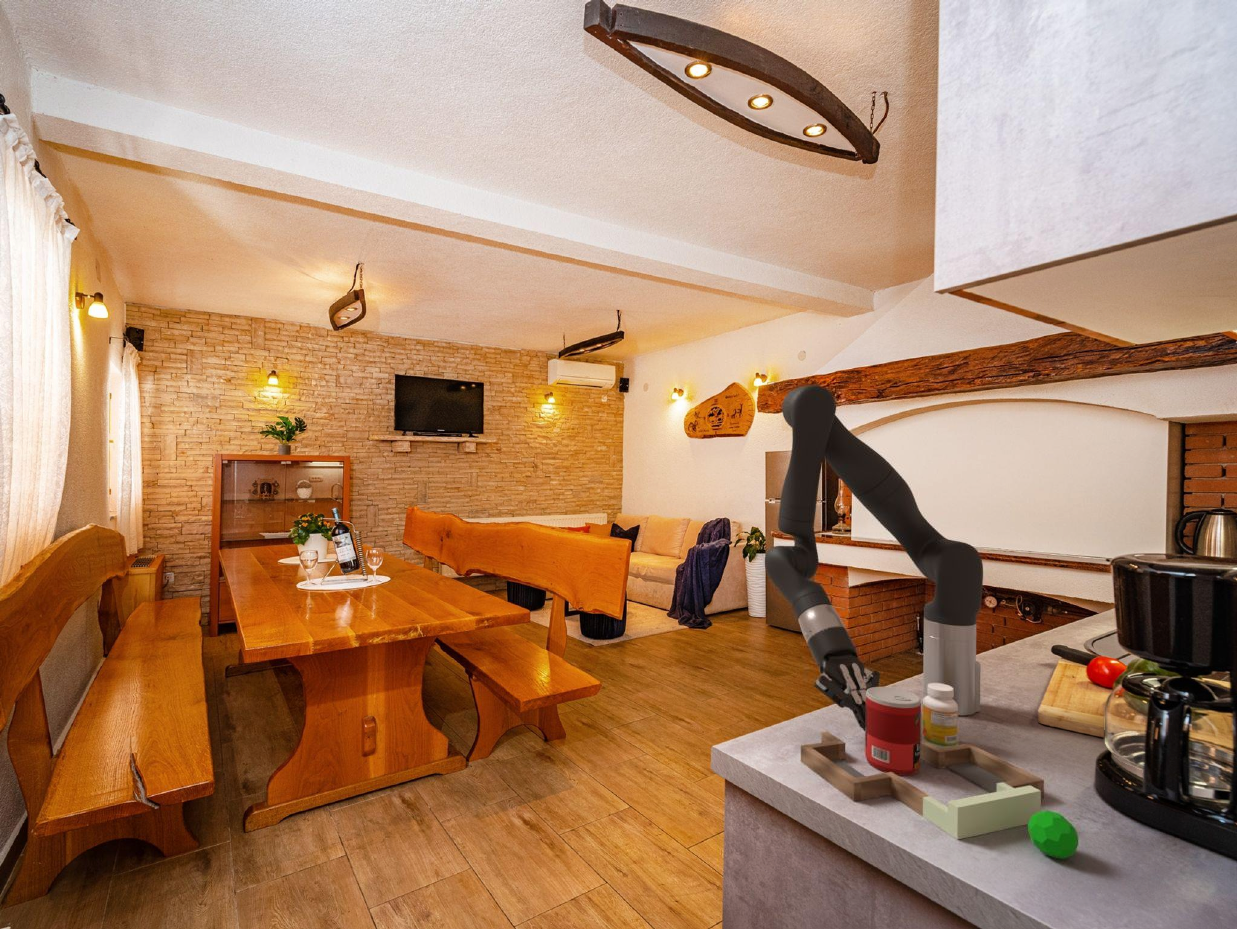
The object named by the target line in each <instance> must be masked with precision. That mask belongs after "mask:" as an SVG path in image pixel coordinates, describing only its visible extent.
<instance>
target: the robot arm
mask: <svg viewBox="0 0 1237 929" xmlns="http://www.w3.org/2000/svg"><path fill="white" fill-rule="evenodd" d="M781 411H782V417H783V418H784V420H785V422H786V423H787V425H788V426H789V427H790V428H791V429H792V430H791V432H792V441H791V442H792V444H791V453H790V458H789V464H788V467H787V471H786V474H785V478H784V480H783V485H782V489H781V495H780V503H779V512H778V519H777V527H778V530H779V531H780V532H781V533H783V534H784V535H789V536H792V538H793V541H794V542H793V543H794V545H775V546H772V547H771V548H769V549H768V550H767V552H766V553H765V557H764V567H765V568H764V569H765V571H766V574H767V576H768V577H769V579H770V580H771V582H772V583H773V585H774V586H775V587H776V588H777V589H778V590H779V592H780V593H781V595H783V597H784V598H785V600H787V601H788V602H789V604H790V606H791V608H792V610H793V613H794V614H795V616H796V619H797V621H798V624H799V626H800V630H801V632H802V635H803V637H804V640H805V641H806V643H807V644H806V645H807V646H808V648H809V651H810V652H811V655H812V657H813V659H814V662H815V664H816V665H817V666H818V667H819V673H820V676H819V677H818V678H817V679H816V680H815V681H814V683H813V686H814V687H815V688H816V689H817V690H818V691H819V692H821V693H822V694H824V695H825V696H826V697H827V698H828V699H829V700H831V702H833V703H835V704H836V705H837V706H838V707H839V708H842V709H843V708H848V709H849V710H851V712H852V713H853V715H854V718H855V719H856V721H857V723H858V725H859V727H860V728H861V729H862V730H863V732H865V718H866V691H867V689H869V688H873V687H880V685H879V683H880V677H881V673H880V672H879V671H878V670H874V671H871V670H870V669H868V668H866V667H865V665H864V663H863V661H861V659H859V657H858V651H857V648H856V645H855V643H854V642H853V640H852V638H851V636H850V634H849V632H848V630H847V628H846V626H845V624H844V622H843V620H842V618H841V616H840V615H839V613H838V612H837V610H836V609H835V608H834V606H833V603H832V602H831V600H830V598H829V596H828V594H827V591H826V590H825V589H824V587H823V585H821V584H820V583H819V582H816V581H814V580H811V579H812V578H814V577H815V575H816V573H817V571H818V568H819V560H820V559H819V553H818V547H817V541H816V533H815V519H816V513H817V512H816V511H817V503H818V502H817V501H818V495H819V494H818V492H819V487H820V477H821V473H822V472H821V471H822V466H823V461H824V460H825V462H827V463H828V465H829V466H830V467H831V469H832V470H833V471H834V473H835V474H836V475H837V476H838V478H839V479H840V480H841V482H843V484H844V485H845V486H846V487H847V488H848V491H850V492H851V494H852V495H853V496H854V497H855V498H856V499H857V501H859V503H861V505H863V507H864V508H865V509H867V511H868V512H870V513H871V515H872V516H873V517H874V518H875V520H877V521H878V523H880V525H882V526H883V527H884V528H885V530H887V531H888V533H890V534H891V535H892V537H894V538H895V539H896V541H897V542H898V544H900V545H901V547H902V549H903V550H904V551H905V552H906V555H908V557H909V558H910V559H911V561H912V562H913V564H914V565H915V566H916V568H917V569H918V570H919V572H920V573H921V575H923V576H924V577H925V578H926V579H928V580H930V581H931V582H934V584H935V591H934V597H933V599H932V601H929V602H926V603H925V604H924V607H923V667H922V668H923V671H922V672H923V675H922V676H923V677H922V680H923V681H922V682H923V683H922V700H923V699H924V697H926V696H928V695H929V694H928V693H927V692H928V691H927V688H928V684H930V683H941V684H945V685H949V686H951V687H952V688H953V689H954V696H953V698H952V699H953V700H954V701H955V702H956V703H957V705H958V716H970V715H974V714H976V713H977V712H978V713H979V712H981V671H982V670H981V669H982V668H981V667H982V666H981V663H980V662H979V661H978V660H977V616H978V614H979V613H980V610H981V606H982V598H983V584H984V567H983V566H984V563H983V559H982V557H981V554H980V553H979V552H980V551H978V550H977V548H976V547H974V546H973V545H971V544H969V543H966V542H964V541H959V540H953V539H948V538H946V537H945V536H943V535H942V534H941V533H940V532H939V531H938V530H937V529H935V527H934V526H933V525H932V524H931V523H929V522H928V520H927V519H926V518H925V517H924V516H923V514H922V512H921V511H920V509H919V507H918V504H917V502H916V498H915V496H914V494H913V491H912V489H911V487H910V486H909V484H908V483H907V481H906V480H905V479H904V477H902V475H901V474H900V473H899V472H898V470H896V468H894V467H893V465H892V464H890V462H889V461H887V459H885V458H884V457H883V456H882V455H881V454H879V453H878V452H877V450H875V449H874V448H872V447H870V445H868V444H867V443H866V442H864V441H862V439H860V438H858V437H857V436H856V435H855V434H853V433H852V432H851V431H850V430H849V429H848V428H847V427H846V426H845V425H844V424H843V422H842V421H841V420H840V419H839V417H838V416H837V415H836V411H837V402H836V400H835V397H834V395H833V394H832V392H831V391H830V390H829V389H827V388H826V387H824V386H822V385H819V384H818V385H817V384H808V385H803V386H800V387H799V386H798V387H796V388H794V389H792V390H790V391H788V393H787V394H786V395H785V397H784V398H783V402H782V405H781Z"/></svg>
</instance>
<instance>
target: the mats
mask: <svg viewBox="0 0 1237 929" xmlns="http://www.w3.org/2000/svg"><path fill="white" fill-rule="evenodd" d="M830 761H832V762H833V763H834V764H836V765H837V766H839V767H840V768H842V769H843V770H845V771H846V772H847V773H849V774H850V775H852V776H853V777H855V778H858V777H864V776H865V775H864V774H862V772H859V771H858V770H857V769H856V768H854V767H852V766H851V765H849V764H848V763H847V762H845V761H843V759H839V758H838V759H832V760H830ZM946 769H948V770H950V771H951V772H953V773H955V774H957V775H959V776H960V777H962V778H963V779H966V780H967V781H969V782H971V783H973V784H974V785H976V786H978V787H980V788H982V789H984V790H986V791H987V792H988V793H994V792H997V783H1002V782H1007V781H1005V780H1003V779H1001V778H999V777H998V776H996V775H994V774H992V773H990V772H988V771H986V770H984V769H982V768H980V767H978V766H976V765H975V764H973V763H971V762H968V763H962V764H956V765H950V766H947V767H946Z"/></svg>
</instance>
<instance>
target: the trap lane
mask: <svg viewBox="0 0 1237 929" xmlns="http://www.w3.org/2000/svg"><path fill="white" fill-rule="evenodd" d="M838 758H839V759H841V760H845V759H846V742H845V741H844V740H841V739H840V738H838V737H837V736H835V735H833V734H832V733H831V732H828V731H824V732H823V731H821V742H817V743H810V744H802V745H801V744H800V762H801V763H802V764H803V765H804V766H806V767H807V768H809V769H810V770H811V771H812V772H814V773H816V774H817V775H819V777H821V778H822V779H824V780H825V781H826V782H828V783H829V784H830V785H832V786H833V787H834V788H836V789H837V790H838V791H839V792H841V793H842V794H844V795H845V796H846V797H848V799H851V800H852V801H853V802H857V801H863V800H867V799H874V798H879V797H885V796H892V797H894V798H895V799H896V800H898V801H899V802H901V803H902V804H904V805H906V806H907V807H909V808H910V809H911V810H912V811H914V812H916V813H917V814H919V815H920V816H922V817H923V797H928V796H930V795H929V794H927V793H926V792H924V791H923V790H921V789H919V788H918V787H916V786H914V785H913V784H912V783H910V782H909V781H907V780H905V779H903V778H902V777H901V776H900V775H896V774H894V773H892V772H888V773H886V772H883V773H876V774H871V775H864V777H858V778H855V777H853V776H852V775H850V774H849V773H847V772H846V771H845V770H843V769H842V768H840V767H839V766H837V765H836V764H834V763H833V762H832V761H830V760H832V759H838ZM920 760H923V761H924V760H925V761H924V762H926V763H928V764H930V765H932V766H933V767H935V768H937V769H944V768H947V766H950V765H956V764H962V763H968V762H971V763H973V764H975V765H976V766H978V767H980V768H982V769H984V770H986V771H988V772H990V773H992V774H994V775H996V776H998V777H999V778H1001V779H1003V780H1005V781H1007V782H1003V783H1005V784H1007V785H1009V786H1011V787H1013V788H1019V787H1024V786H1032V787H1034V788H1036V789H1038V790H1040V791H1041V799H1044V797H1045V779H1043V778H1041V777H1039V776H1037V775H1035V774H1033V773H1030V772H1029V771H1027V770H1024V769H1022V768H1020V767H1018V766H1017V765H1014V764H1012V763H1010V762H1008V761H1006V760H1004V759H1001V758H1000V757H999V756H996V755H994V754H992V753H990V752H987V751H986V750H983V749H981V748H979V747H977V746H975V745H974V744H972V743H963V744H958V745H957V746H950V747H944V748H937V747H935V746H933V745H931V744H929V743H928V742H926V741H924V740H923V738H921V742H920Z"/></svg>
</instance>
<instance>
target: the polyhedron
mask: <svg viewBox="0 0 1237 929" xmlns="http://www.w3.org/2000/svg"><path fill="white" fill-rule="evenodd" d="M1027 831H1028V833H1029V837H1030V840H1031V842H1032V843H1033V845H1034V846H1036V848H1037V849H1038V850H1039V851H1040V852H1041V853H1043V854H1045V855H1047V857H1048V856H1049V857H1053V858H1055V859H1062V860H1063V859H1067V858H1069V857H1072V856H1073V855H1074V854H1075V853H1076V851H1077V849H1078V846H1079V837H1078V834H1077V830H1076V828H1075V827H1074V826H1073V824H1072V823H1071V822H1070V821H1068V819H1066V818H1065V816H1063V815H1062V814H1060V813H1059V812H1056V811H1052V810H1048V809H1047V810H1041V812H1038V813H1036V814H1034V815H1032V816H1031V818H1030V821H1029V823H1028V824H1027Z"/></svg>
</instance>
